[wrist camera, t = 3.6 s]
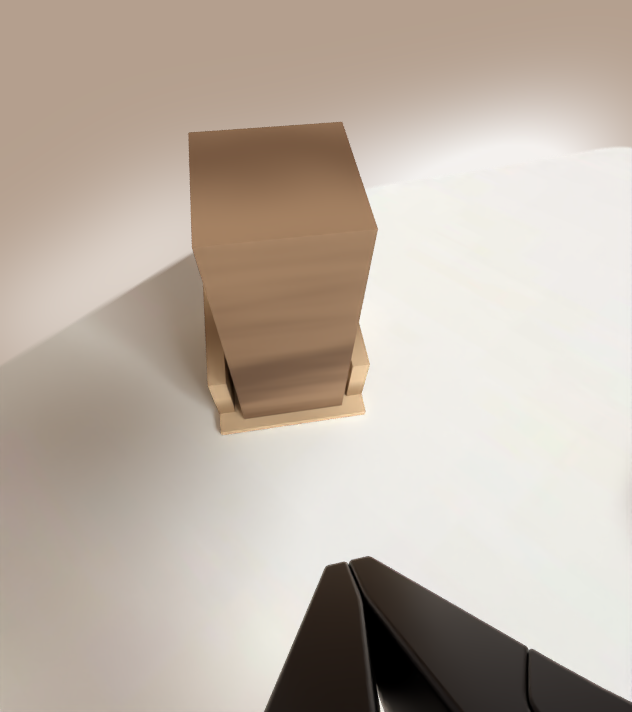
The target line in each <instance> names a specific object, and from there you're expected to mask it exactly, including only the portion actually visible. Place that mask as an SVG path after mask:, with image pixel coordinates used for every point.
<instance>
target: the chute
mask: <svg viewBox="0 0 632 712" xmlns="http://www.w3.org/2000/svg"><path fill="white" fill-rule="evenodd" d="M203 293H204V314H205V336H206V358H207V380H208V388H209V390H210V392H211V395H212V397H213V399H214V402H215V404H216V406H217V409H218V411H219V413H220V428H221V434H222V435H227V434H233V433H240V432H247V431H254V430H261V429H268V428H274V427H281V426H288V425H295V424H302V423H308V422H315V421H322V420H329V419H336V418H342V417H349V416H356V415H363V414H365V412H366V411H365V407H364V403H363V399H362V394H361V393H362V390H363V386H364V383H365V379H366V376H367V372H368V369H369V365H370V363H369V360H368V356H367V352H366V348H365V344H364V340H363V337H362V333H361V329H360V325H359V323H358V328H357V333H356V338H355V343H354V348H353V353H352V358H351V363H350V367H349V372H348V377H347V382H346V387H345V392H344V397H343V402H342V405H340V406H333V407H326V408H319V409H312V410H305V411H298V412H291V413H284V414H277V415H270V416H263V417H256V418H250V419H244V416H243V412H242V409H241V406H240V402H239V399H238V396H237V393H236V389H235V386H234V383H233V380H232V376H231V373H230V370H229V367H228V363H227V360H226V357H225V354H224V350H223V347H222V344H221V340H220V337H219V334H218V331H217V327H216V324H215V321H214V318H213V314H212V311H211V308H210V305H209V301H208V298H207V295H206V291H205V288H204V285H203Z"/></svg>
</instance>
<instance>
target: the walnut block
mask: <svg viewBox="0 0 632 712" xmlns="http://www.w3.org/2000/svg"><path fill="white" fill-rule="evenodd" d="M189 167H190V196H191V197H190V200H191V232H192V249H193V252H194V256H195V259H196V262H197V265H198V269H199V272H200V275H201V278H202V282H203V285H204V288H205V291H206V295H207V298H208V301H209V305H210V308H211V311H212V314H213V318H214V321H215V324H216V327H217V331H218V334H219V337H220V340H221V344H222V347H223V350H224V354H225V357H226V360H227V363H228V367H229V370H230V373H231V376H232V380H233V383H234V386H235V389H236V393H237V396H238V399H239V402H240V406H241V409H242V412H243V416H244V419H250V418H256V417H263V416H270V415H277V414H284V413H291V412H298V411H305V410H312V409H319V408H326V407H333V406H340V405H342V402H343V397H344V392H345V387H346V382H347V377H348V372H349V367H350V363H351V358H352V353H353V348H354V343H355V338H356V333H357V328H358V323H359V319H360V314H361V309H362V304H363V299H364V294H365V289H366V284H367V279H368V275H369V270H370V265H371V260H372V255H373V250H374V245H375V240H376V235H377V231H378V228H377V225H376V222H375V219H374V216H373V213H372V210H371V207H370V204H369V201H368V198H367V195H366V192H365V189H364V186H363V183H362V180H361V177H360V174H359V171H358V168H357V165H356V162H355V159H354V156H353V153H352V150H351V147H350V144H349V141H348V138H347V135H346V132H345V129H344V126H343V123H342V122H333V123H319V124H305V125H290V126H277V127H262V128H248V129H233V130H220V131H205V132H190V133H189Z"/></svg>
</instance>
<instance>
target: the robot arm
mask: <svg viewBox="0 0 632 712" xmlns="http://www.w3.org/2000/svg"><path fill="white" fill-rule="evenodd" d="M377 691H378V692H377ZM378 694H379V698H380V700H381V703H382V706H383V709H384V712H632V702H630V701H628V700H626V699H624V698H622V697H620V696H618V695H616V694H614V693H612V692H610V691H608V690H606V689H604V688H602V687H600V686H598V685H597V684H595V683H593V682H591V681H589V680H587V679H586V678H584V677H582V676H580V675H578V674H576V673H575V672H573V671H571V670H569V669H567V668H565V667H564V666H562V665H560V664H558V663H556V662H555V661H553V660H551V659H549V658H548V657H546V656H544V655H542V654H541V653H539V652H537V651H536V650H534V649H530V650H528V648H527V647H526V646H525V645H523V644H522V643H520V642H518V641H516V640H515V639H513V638H511V637H509V636H508V635H506V634H504V633H502V632H501V631H499V630H497V629H496V628H494V627H492V626H490V625H489V624H487V623H485V622H483V621H482V620H480V619H478V618H476V617H475V616H473V615H471V614H470V613H468V612H466V611H464V610H463V609H461V608H459V607H457V606H456V605H454V604H452V603H450V602H449V601H447V600H445V599H444V598H442V597H440V596H438V595H437V594H435V593H433V592H431V591H430V590H428V589H426V588H424V587H423V586H421V585H419V584H418V583H416V582H414V581H412V580H411V579H409V578H407V577H405V576H404V575H402V574H400V573H398V572H397V571H395V570H393V569H392V568H390V567H388V566H386V565H385V564H383V563H381V562H379V561H378V560H376V559H374V558H372V557H370V556H366V557H362V558H358V559H353V560H351V561H350V562H349V565H348V563H347V562H340V563H336V564H332V565H328V566H326V567H325V569H324V571H323V573H322V576H321V578H320V581H319V583H318V585H317V588H316V590H315V592H314V595H313V597H312V599H311V602H310V604H309V607H308V609H307V611H306V614H305V616H304V618H303V621H302V623H301V626H300V628H299V630H298V633H297V635H296V637H295V640H294V642H293V644H292V647H291V649H290V652H289V654H288V656H287V659H286V661H285V663H284V666H283V668H282V671H281V673H280V675H279V678H278V680H277V682H276V685H275V687H274V689H273V692H272V694H271V697H270V699H269V701H268V704H267V706H266V708H265V711H264V712H380V705H379V699H378Z"/></svg>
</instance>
